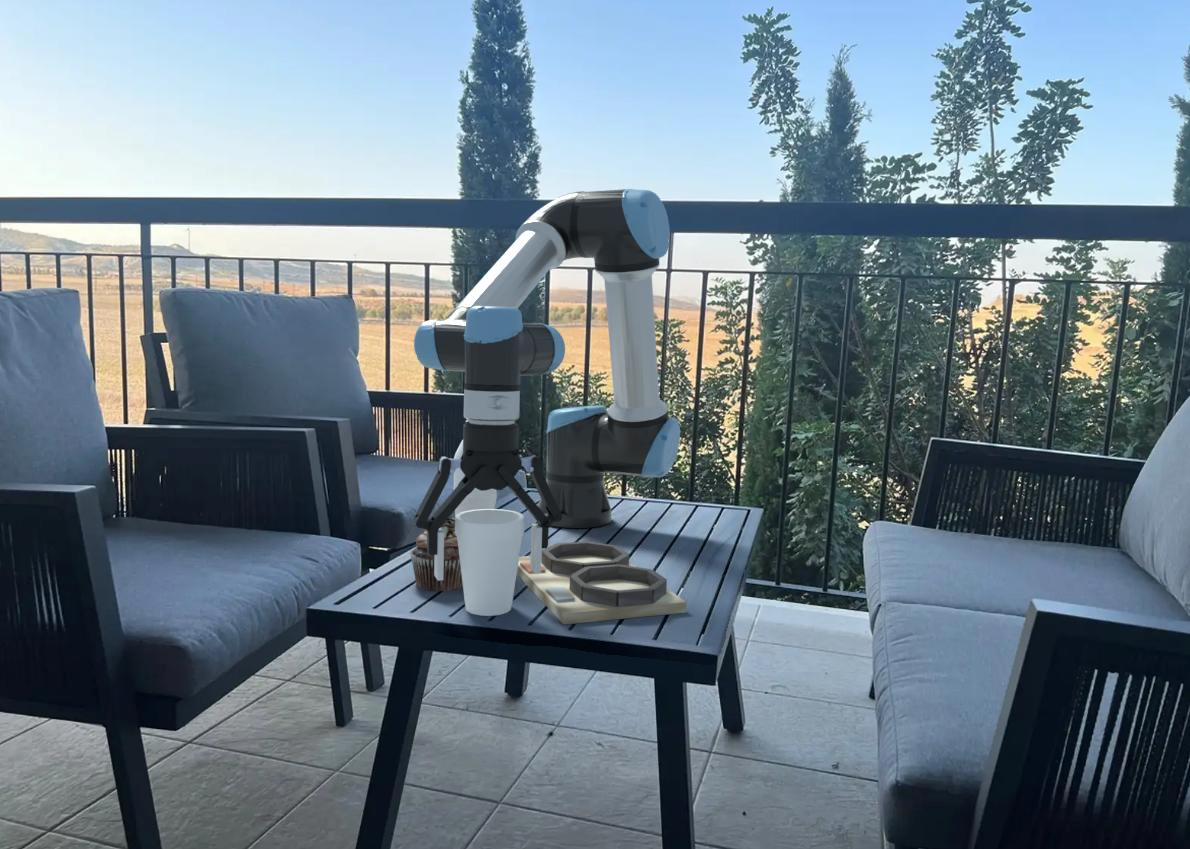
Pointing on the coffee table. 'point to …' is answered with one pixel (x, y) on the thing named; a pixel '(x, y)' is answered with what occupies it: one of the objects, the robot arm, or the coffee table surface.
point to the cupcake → (425, 561)
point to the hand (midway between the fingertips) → (488, 574)
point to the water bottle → (476, 497)
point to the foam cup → (489, 558)
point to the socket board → (597, 584)
